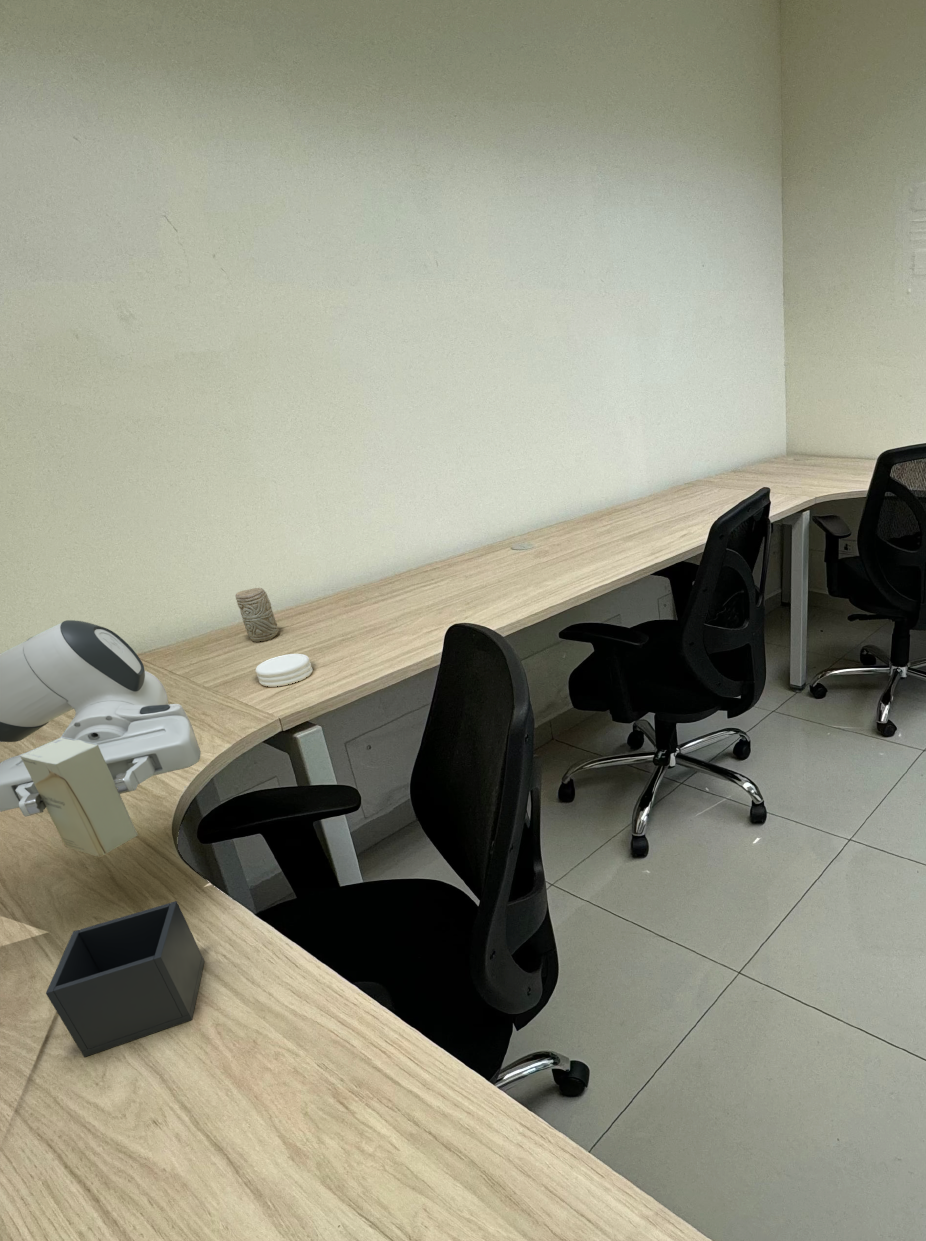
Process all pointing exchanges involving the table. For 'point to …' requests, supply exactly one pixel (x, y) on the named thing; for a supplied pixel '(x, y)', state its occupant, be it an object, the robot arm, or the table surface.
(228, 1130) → the table surface
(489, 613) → the table surface
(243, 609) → the carving
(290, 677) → the white ridged disc
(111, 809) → the cosmetic box
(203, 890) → the table surface
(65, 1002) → the waste bin
